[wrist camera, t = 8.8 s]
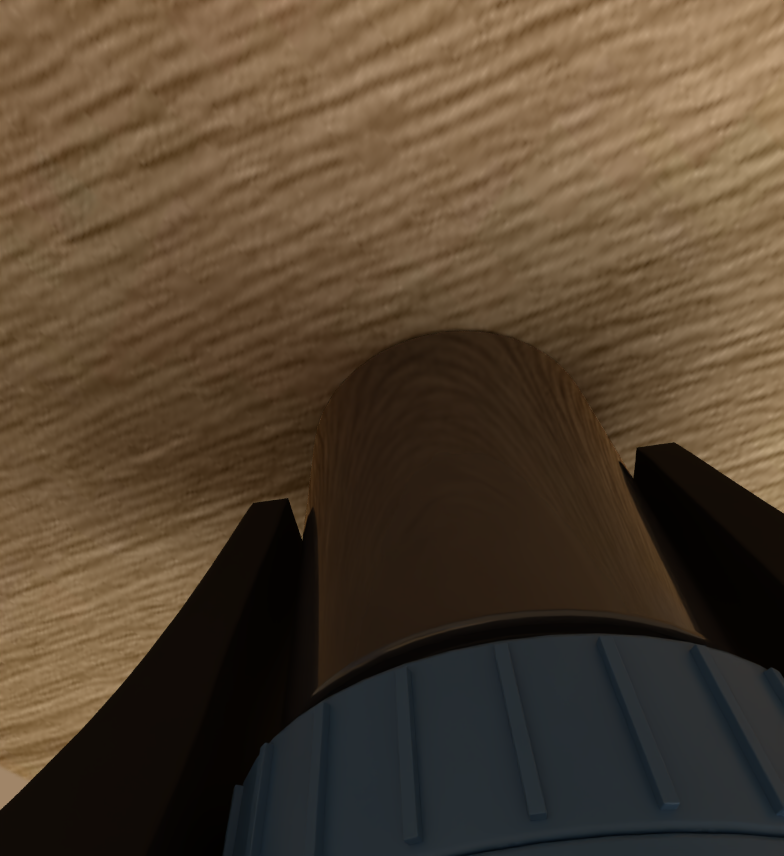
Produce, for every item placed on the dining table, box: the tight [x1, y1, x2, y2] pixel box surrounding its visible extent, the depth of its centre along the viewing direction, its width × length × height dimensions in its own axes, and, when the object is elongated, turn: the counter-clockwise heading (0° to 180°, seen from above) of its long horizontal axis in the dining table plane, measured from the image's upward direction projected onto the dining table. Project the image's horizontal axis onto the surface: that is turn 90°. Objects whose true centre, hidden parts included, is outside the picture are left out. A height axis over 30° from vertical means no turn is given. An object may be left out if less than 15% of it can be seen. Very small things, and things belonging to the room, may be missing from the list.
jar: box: [279, 331, 741, 733], centre depth 9 cm, size 5×5×8 cm
